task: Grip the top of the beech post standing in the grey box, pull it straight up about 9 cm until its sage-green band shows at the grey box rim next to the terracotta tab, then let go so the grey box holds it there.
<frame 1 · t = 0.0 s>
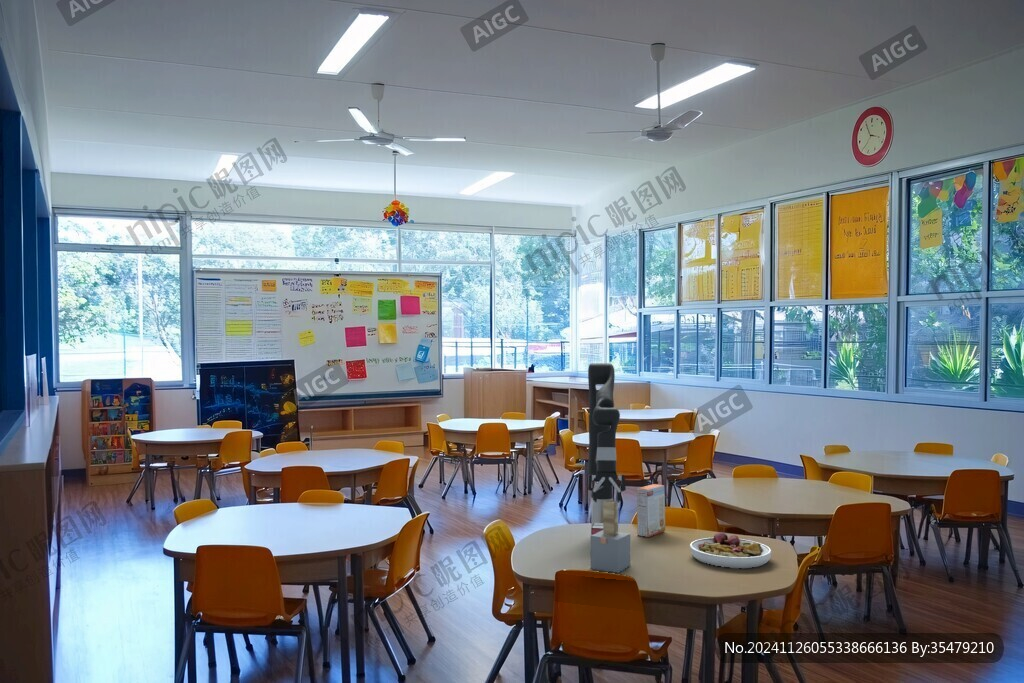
hand: (606, 502, 286), 22 cm above the table, tool pointing down, fingers open, 8 cm apart
post: (610, 533, 278), point 12 cm above the table, slide at 0.0 cm
cracker box: (651, 534, 329), on the table
plate of food: (730, 560, 289), on the table
puzzle cube: (604, 551, 301), on the table
grey box: (610, 567, 278), on the table
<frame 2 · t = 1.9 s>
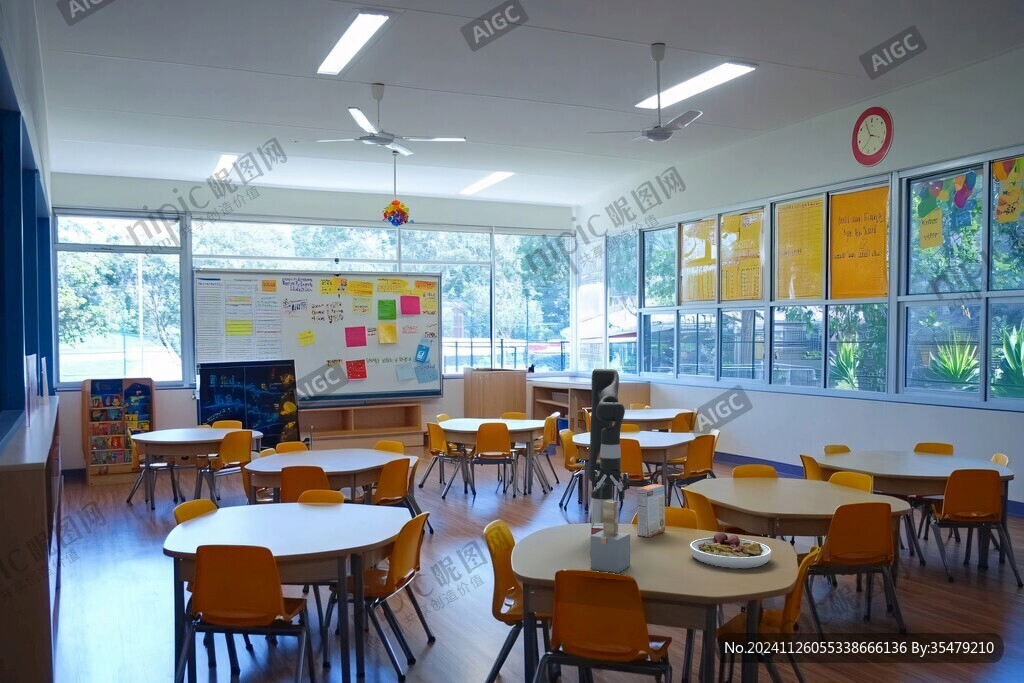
hand: (610, 499, 278), 25 cm above the table, tool pointing down, fingers open, 8 cm apart
nothing on the table moved.
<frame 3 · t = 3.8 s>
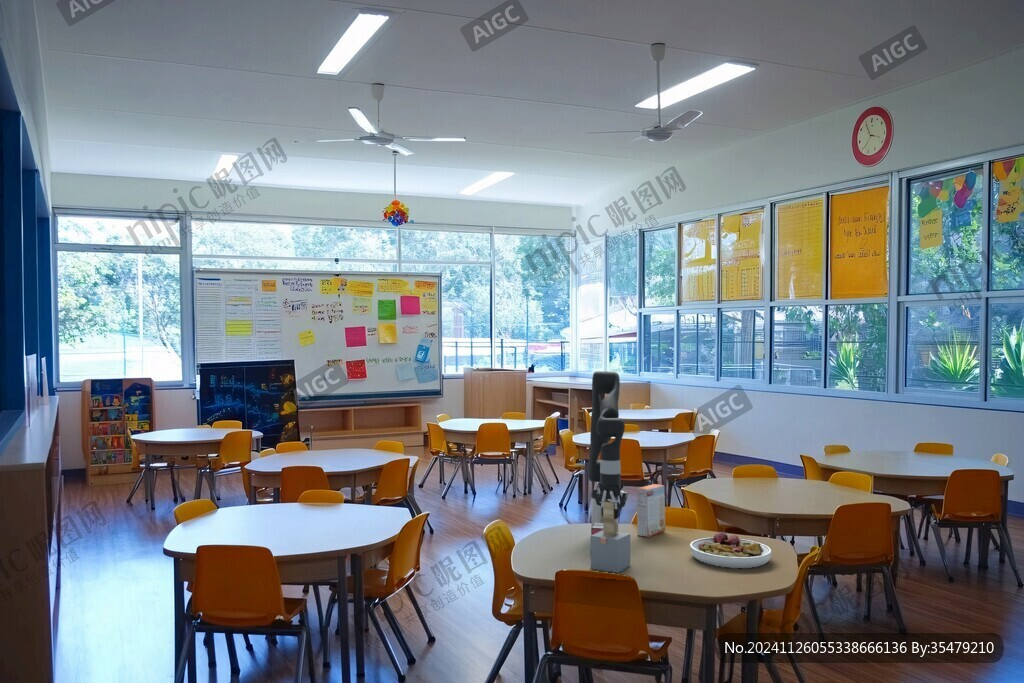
hand: (610, 517, 278), 18 cm above the table, tool pointing down, fingers closed on post, 4 cm apart
post: (610, 533, 278), point 12 cm above the table, slide at 0.0 cm, touching gripper
everything else where it was.
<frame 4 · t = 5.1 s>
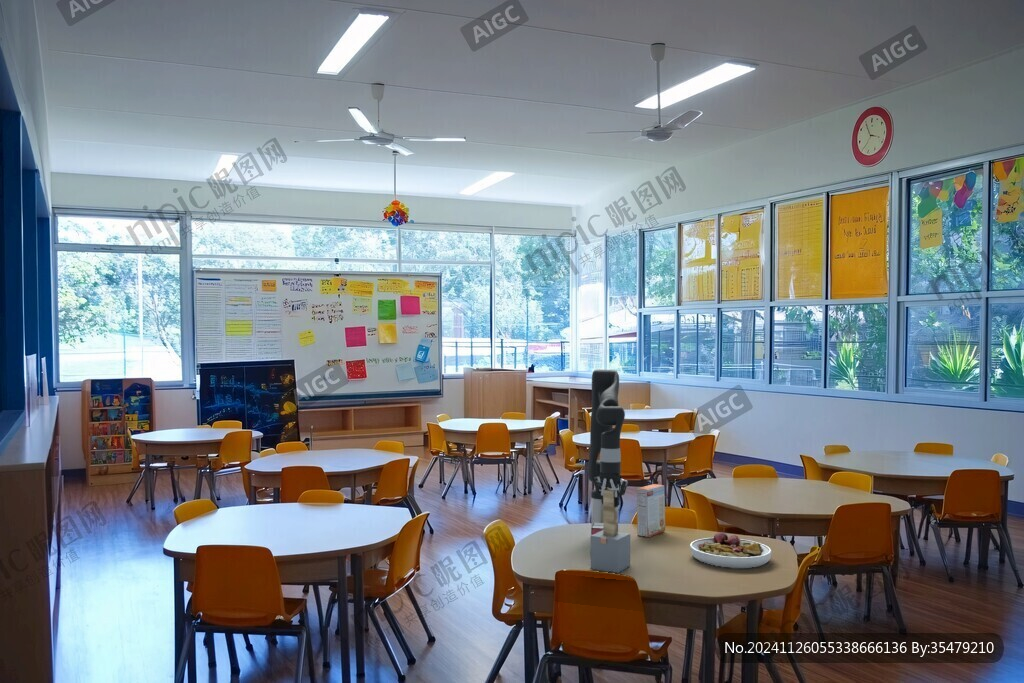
hand: (610, 505, 278), 23 cm above the table, tool pointing down, fingers closed on post, 4 cm apart
post: (610, 522, 278), point 17 cm above the table, slide at 4.4 cm, touching gripper
everything else where it was.
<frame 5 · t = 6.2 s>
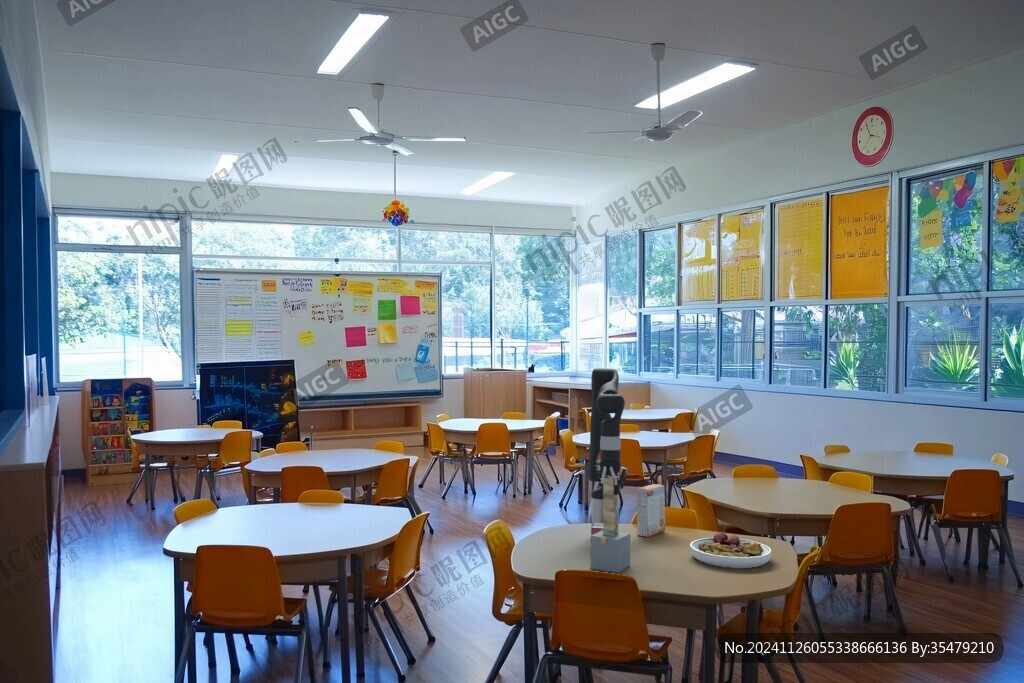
hand: (610, 493, 278), 27 cm above the table, tool pointing down, fingers closed on post, 4 cm apart
post: (610, 510, 278), point 21 cm above the table, slide at 8.8 cm, touching gripper
everything else where it was.
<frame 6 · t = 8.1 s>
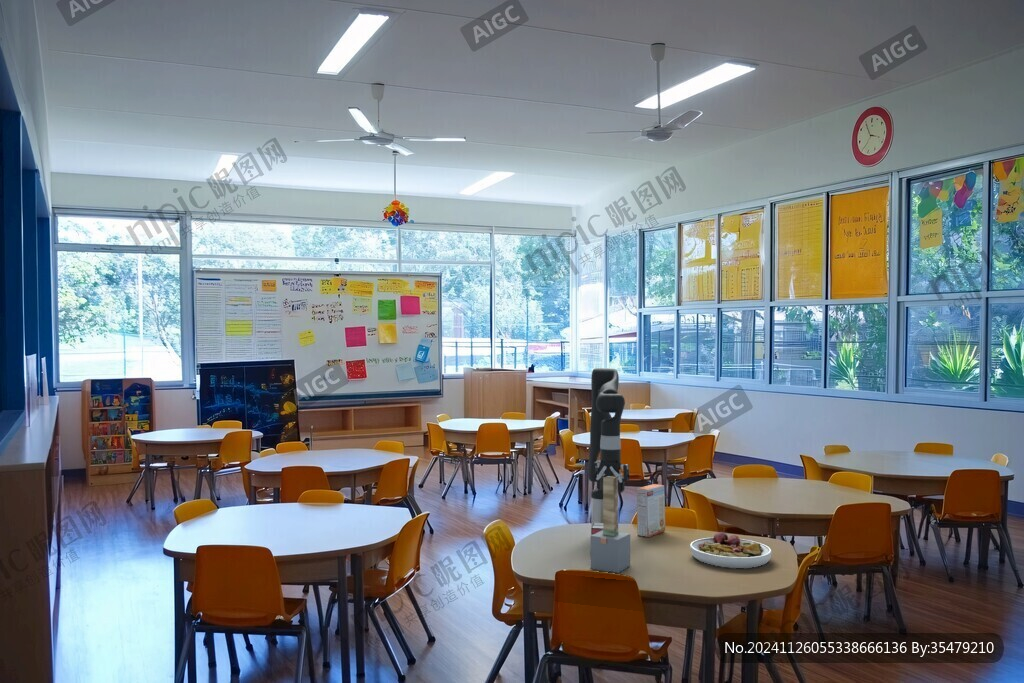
hand: (610, 491, 278), 28 cm above the table, tool pointing down, fingers open, 8 cm apart
post: (610, 509, 278), point 21 cm above the table, slide at 8.9 cm
everything else where it was.
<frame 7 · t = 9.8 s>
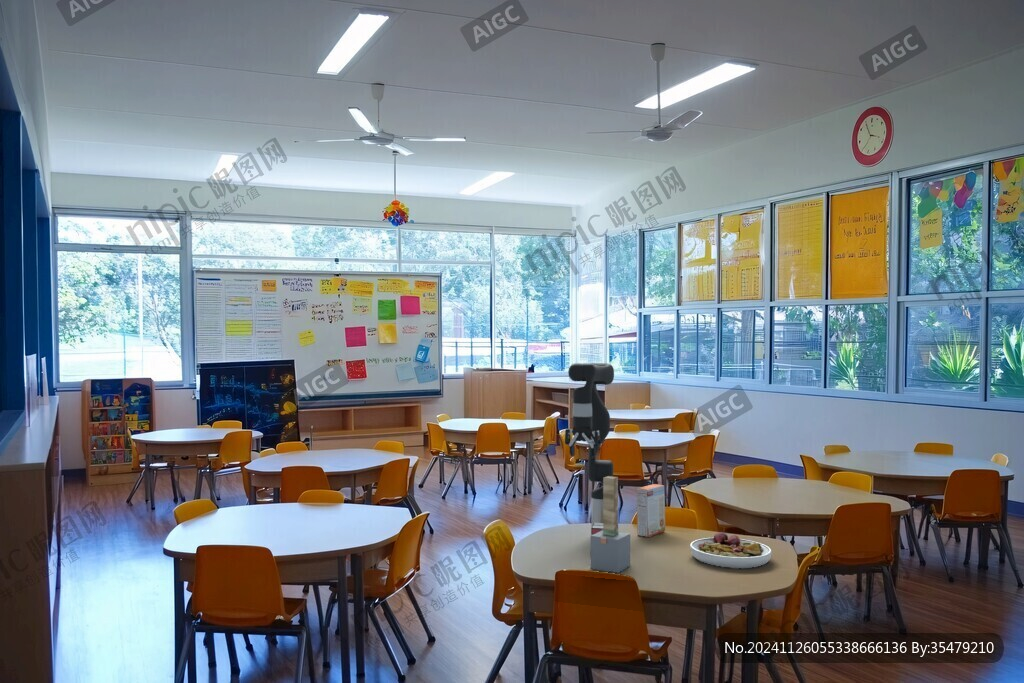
hand: (582, 456, 290), 39 cm above the table, tool pointing down, fingers open, 8 cm apart
nothing on the table moved.
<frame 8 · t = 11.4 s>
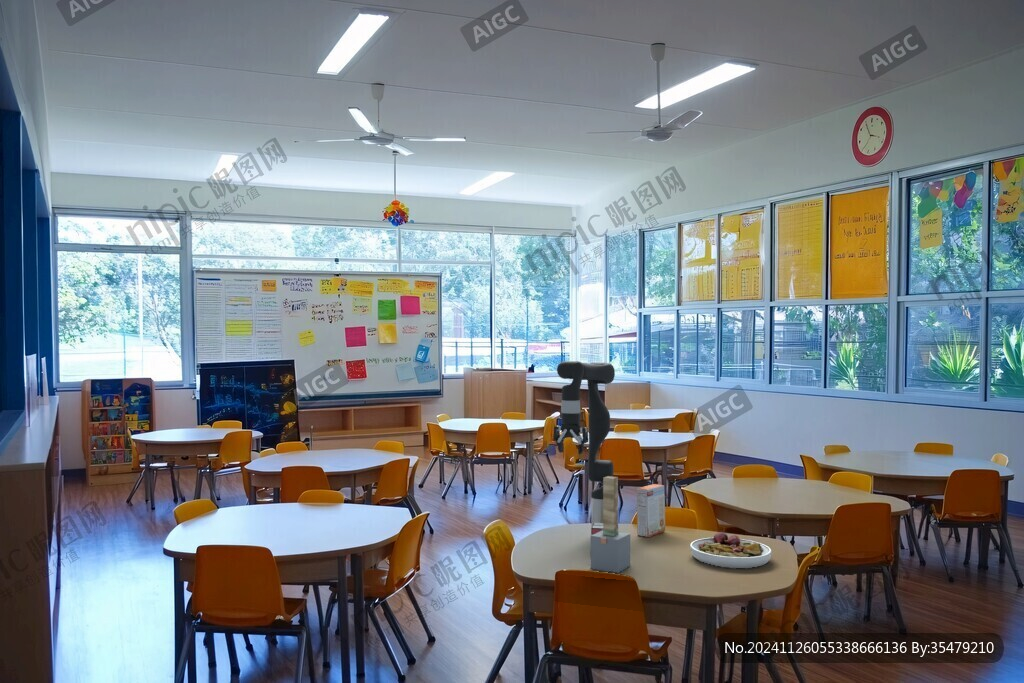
hand: (570, 453, 294), 40 cm above the table, tool pointing down, fingers open, 8 cm apart
nothing on the table moved.
at the end: post slide at 8.9 cm; the gripper is holding nothing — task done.
